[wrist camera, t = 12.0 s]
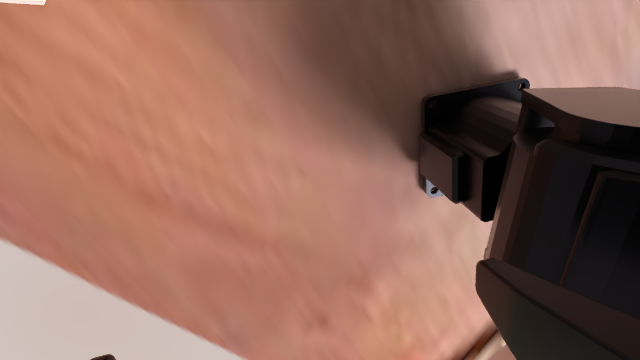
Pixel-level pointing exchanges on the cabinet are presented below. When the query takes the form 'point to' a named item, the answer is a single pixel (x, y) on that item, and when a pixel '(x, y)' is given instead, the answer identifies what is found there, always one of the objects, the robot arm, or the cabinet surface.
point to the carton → (25, 1)
